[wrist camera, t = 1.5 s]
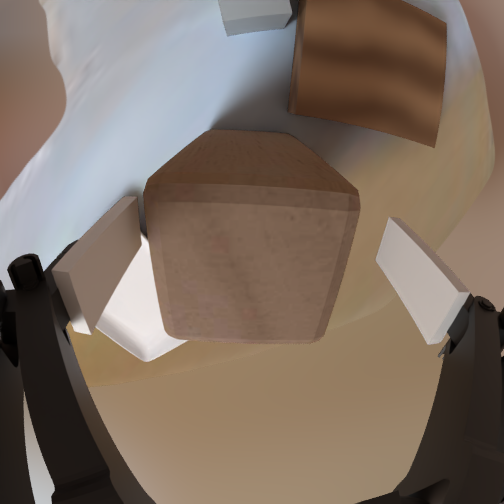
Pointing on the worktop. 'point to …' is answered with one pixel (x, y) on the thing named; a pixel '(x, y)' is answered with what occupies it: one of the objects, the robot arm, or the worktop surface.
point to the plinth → (370, 66)
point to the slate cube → (254, 15)
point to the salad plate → (137, 311)
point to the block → (248, 238)
